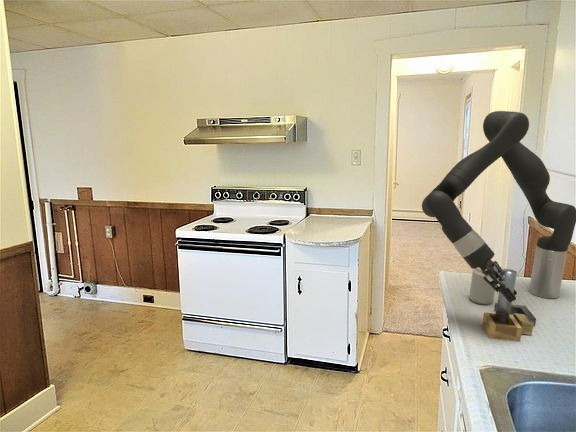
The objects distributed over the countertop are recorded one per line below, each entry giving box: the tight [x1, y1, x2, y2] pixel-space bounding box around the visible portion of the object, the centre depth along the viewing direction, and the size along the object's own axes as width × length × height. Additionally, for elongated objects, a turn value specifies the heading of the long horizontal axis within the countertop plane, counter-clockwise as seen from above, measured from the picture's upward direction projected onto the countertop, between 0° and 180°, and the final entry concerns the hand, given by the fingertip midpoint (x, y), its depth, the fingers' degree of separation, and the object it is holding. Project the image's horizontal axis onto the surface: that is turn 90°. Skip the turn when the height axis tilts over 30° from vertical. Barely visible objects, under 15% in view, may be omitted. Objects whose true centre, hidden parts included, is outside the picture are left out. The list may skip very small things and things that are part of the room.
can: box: [468, 267, 496, 306], centre depth 139 cm, size 8×8×12 cm
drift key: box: [514, 313, 534, 336], centre depth 121 cm, size 7×3×4 cm, turn 169°
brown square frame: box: [481, 311, 522, 342], centre depth 119 cm, size 8×8×4 cm
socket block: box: [493, 302, 537, 327], centre depth 128 cm, size 9×9×2 cm
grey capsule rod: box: [494, 268, 518, 323], centre depth 116 cm, size 4×4×15 cm
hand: (513, 297), depth 115 cm, fingers closed on grey capsule rod, 3 cm apart
